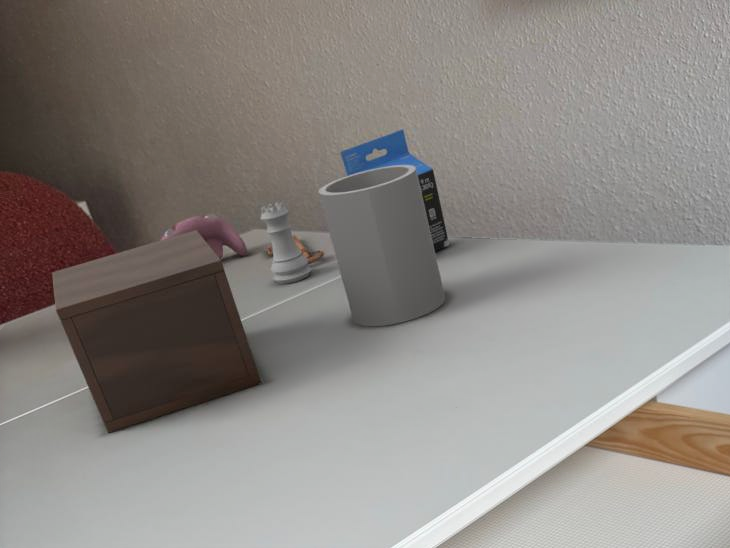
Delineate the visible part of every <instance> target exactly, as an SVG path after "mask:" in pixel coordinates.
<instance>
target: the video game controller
mask: <svg viewBox="0 0 730 548" xmlns="http://www.w3.org/2000/svg"><path fill="white" fill-rule="evenodd" d="M195 230H197V231H198V233H199V234H200V235H201V236H202V238H203V239H204V240H205V241H206V242H207V244H208V245H209V246H210V247H211V249H212V250H213V251H214V252H215V254H216V255H217V256H218V257H219V259H220V260H221V258H222V257H223V255H224V246H225V247H228V248H229V249H230V250H232V251H233V252H234V253H236V254H237V255H239V256H243V257H245V256H246V255H247V254H248V253H247V252H248V251H247V250H248V249H247V246H246V242H245V241H244V239H243V237H241V236H240V234H239V233H238V232H237V231H236V230H235V229H234V228H233V227H232V225H230V224H229V223H228V222H227V221H226V220H225V219H224V218H222V217H219V216H217V215H216V214H215V213H210V214H208V215H203V216H199V215H195V216H192V217H188V218H186V219H184V220H181V221H179V222H177V223H176V224H174V225H173V226H172V227H170V228H168V229H166V231H165V232H164V234H163V236H162V237H161V238H160V241H161V240H164V239H167V238H171V237H174V236H178V235H181V234H184V233H188V232H191V231H195Z"/></svg>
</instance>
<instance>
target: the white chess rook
mask: <svg viewBox="0 0 730 548" xmlns="http://www.w3.org/2000/svg"><path fill="white" fill-rule="evenodd" d="M274 205H275V206H273V204H272V203H269V204H267V206H266V205H264V206H262V207H261V208H260V211H261V215H260V218H259V219H260V220H261V221H262V222H264V223H265V225H266V228H267V230H266V233H267V234H268V235H269V238H270V242H271V246H272V249H273V255H272V256H273V257H272V264H271V267H270V268H271V269H270V270H271V272H272V273H274V277H272V279H273V280H274V281H275V282H276V283H278V285H279V284H281V285H285V284H290V283H291V284H292V283H295V282H299V281H302V280H304V279H306V278H307V277H309V276H310V274H311V272H312V267H310V266H308V265H309V264H308V259H307V258H306V257H305V256H303V255H302V252H301V251H300V250H299V249H298V247H297V245H296V243H295V241H294V238H293V236H292V235H293V232H292V230H291V227H292V225H291V224H290V223H289V220H288V216H289V213H290V210H289V209H288V208H286V207H285V204H284V202H283V201H282V202H280V201H278V202H275V203H274ZM307 264H308V265H307Z"/></svg>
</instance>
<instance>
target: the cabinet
mask: <svg viewBox="0 0 730 548" xmlns="http://www.w3.org/2000/svg"><path fill="white" fill-rule="evenodd" d="M51 275H52V284H53V296H54V306H55V312H56V315H57V316H58V319H59V320H60V324H61V327H62V328H63V331H64V333H65V336H66V338H67V340H68V342H69V345H70V347H71V349H72V352H73V354H74V356H75V360H76V361H77V364H78V366H79V368H80V371H81V373H82V376H83V378H84V380H85V383H86V385H87V387H88V389H89V392H90V394H91V396H92V399H93V401H94V404H95V406H96V408H97V410H98V413H99V415H100V418H101V420H102V423H103V426H104V427H105V430H106V432H107V434H110V433H112V432H115V431H119V430H121V429H125V428H128V427H131V426H135V425H137V424H140V423H144V422H147V421H149V420H152V419H156V418H159V417H161V416H164V415H168V414H171V413H174V412H177V411H180V410H183V409H186V408H189V407H192V406H195V405H199V404H202V403H205V402H208V401H211V400H214V399H217V398H220V397H224V396H226V395H230V394H232V393H235V392H238V391H242V390H245V389H247V388H251V387H255V386H258V385H260V384H262V383H263V382H262V380H261V376H260V373H259V371H258V366H257V363H256V361H255V357H254V355H253V353H252V349H251V346H250V343H249V339H248V337H247V334H246V330H245V329H244V325H243V322H242V319H241V316H240V313H239V309H238V307H237V304H236V301H235V297H234V295H233V291H232V289H231V286H230V282H229V279H228V276H227V274H226V271H225V267H224V265H223V262H222V259H221V258H220V259H219V257H218V256H217V255H216V254H215V252H214V251H213V250H212V249H211V247H210V246H209V245H208V244H207V242H206V241H205V240H204V239H203V238H202V236H201V235H200V234H199V233H198V231H197V230H195V231H191V232H188V233H184V234H181V235H178V236H174V237H171V238H167V239H164V240H161V239H160V240H158V241H153V242H151V243H148V244H144V245H141V246H137V247H134V248H131V249H126V250H124V251H120V252H117V253H114V254H110V255H107V256H103V257H100V258H97V259H93V260H90V261H85V262H83V263H80V264H76V265H73V266H69V267H66V268H62V269H59V270H55V271H52V272H51Z"/></svg>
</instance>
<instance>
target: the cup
mask: <svg viewBox="0 0 730 548" xmlns="http://www.w3.org/2000/svg"><path fill="white" fill-rule="evenodd" d="M318 196H319V200H320V204H321V208H322V210H323V214H324V218H325V221H326V225H327V230H328V232H329V236H330V240H331V243H332V248H333V251H334V255H335V259H336V262H337V265H338V269H339V273H340V277H341V280H342V284H343V288H344V290H345V295H346V298H347V302H348V305H349V309H350V313H351V317H352V320H353V322H354V323H355V325H358V326H362V327H384V326H390V325H391V326H392V325H395V324H397V325H398V324H401V323H405V322H408V321H412V320H415V319H418V318H420V317H423V316H425V315H428V314H430V313H432V312H433V311H435V310H437V309H438V308H440V307H441V306H442V305H443V304H444V302H445V301H446V294H445V291H444V286H443V282H442V277H441V272H440V269H439V264H438V259H437V255H436V251H435V250H434V246H433V241H432V237H431V232H430V228H429V224H428V219H427V215H426V210H425V206H424V201H423V197H422V192H421V188H420V184H419V179H418V175H417V170H416V167H415V166H413V165H395V166H387V167H381V168H376V169H371V170H367V171H363V172H359V173H356V174H353V175H349V176H347V175H346V176H343V177H340V178H338V179H335V180H332V181H331V182H328V183H326V184H325V185H323V186H322V187H320V188H319V189H318Z"/></svg>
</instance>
